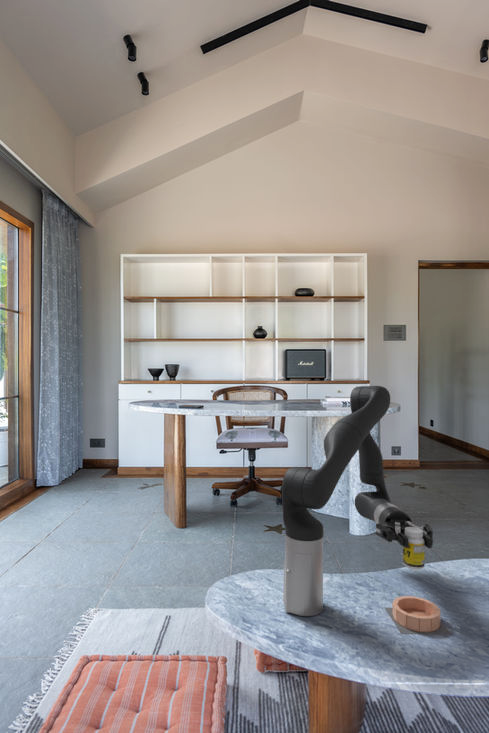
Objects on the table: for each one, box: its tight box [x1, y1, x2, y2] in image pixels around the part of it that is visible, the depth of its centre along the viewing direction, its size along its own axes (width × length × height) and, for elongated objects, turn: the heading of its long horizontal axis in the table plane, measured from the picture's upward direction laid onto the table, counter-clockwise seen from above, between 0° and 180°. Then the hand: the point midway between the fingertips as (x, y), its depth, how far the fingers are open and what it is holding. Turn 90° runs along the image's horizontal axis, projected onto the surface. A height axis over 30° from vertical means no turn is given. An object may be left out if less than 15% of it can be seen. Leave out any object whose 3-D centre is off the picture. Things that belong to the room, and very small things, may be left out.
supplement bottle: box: [402, 527, 426, 570], centre depth 102 cm, size 5×5×8 cm
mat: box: [384, 607, 452, 635], centre depth 99 cm, size 11×11×1 cm
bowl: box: [391, 595, 442, 633], centre depth 100 cm, size 10×10×3 cm
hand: (418, 543), depth 100 cm, fingers closed on supplement bottle, 4 cm apart
